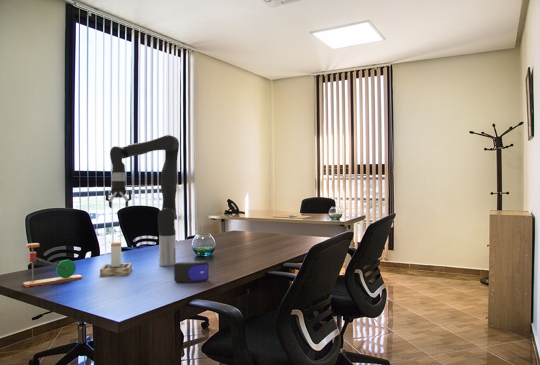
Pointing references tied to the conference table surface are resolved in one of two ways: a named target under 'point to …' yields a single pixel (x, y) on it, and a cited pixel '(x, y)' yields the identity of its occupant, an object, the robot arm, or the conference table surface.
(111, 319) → the conference table surface
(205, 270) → the portable speaker
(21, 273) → the conference table surface
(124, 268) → the box
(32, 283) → the crank mechanism
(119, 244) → the white orange-topped block
